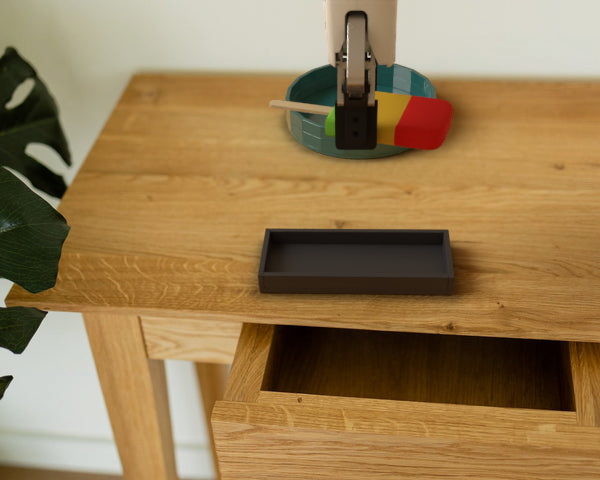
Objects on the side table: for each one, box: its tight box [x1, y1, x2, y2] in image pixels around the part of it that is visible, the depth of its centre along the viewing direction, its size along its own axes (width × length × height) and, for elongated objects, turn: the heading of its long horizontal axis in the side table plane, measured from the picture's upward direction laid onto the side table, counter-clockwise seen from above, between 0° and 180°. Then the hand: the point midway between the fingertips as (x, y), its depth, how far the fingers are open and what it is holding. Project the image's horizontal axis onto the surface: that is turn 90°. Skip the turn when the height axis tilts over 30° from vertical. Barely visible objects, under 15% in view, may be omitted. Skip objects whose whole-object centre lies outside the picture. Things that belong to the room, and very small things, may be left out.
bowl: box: [284, 62, 437, 160], centre depth 91 cm, size 18×18×4 cm
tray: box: [257, 227, 455, 296], centre depth 71 cm, size 17×7×2 cm, turn 86°
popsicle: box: [268, 91, 454, 151], centre depth 61 cm, size 6×15×2 cm, turn 71°
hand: (356, 123), depth 62 cm, fingers closed on popsicle, 6 cm apart
